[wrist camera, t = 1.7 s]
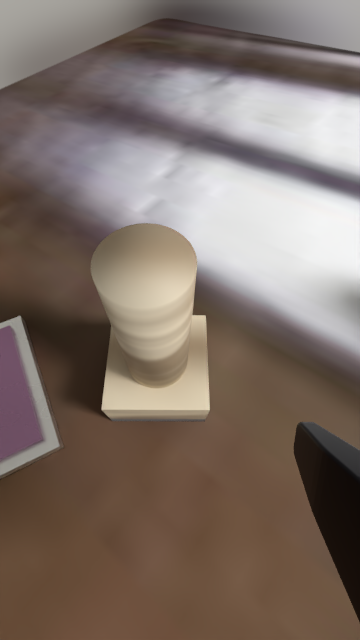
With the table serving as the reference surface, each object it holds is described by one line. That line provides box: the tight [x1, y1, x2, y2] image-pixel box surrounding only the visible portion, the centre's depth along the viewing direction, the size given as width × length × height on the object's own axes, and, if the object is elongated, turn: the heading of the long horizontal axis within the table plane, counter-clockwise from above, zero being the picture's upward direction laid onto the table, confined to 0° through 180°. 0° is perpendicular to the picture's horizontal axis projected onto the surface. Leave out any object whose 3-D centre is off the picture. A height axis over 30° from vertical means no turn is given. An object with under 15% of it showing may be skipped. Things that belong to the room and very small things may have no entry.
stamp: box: [91, 223, 210, 421], centre depth 16 cm, size 6×6×12 cm
